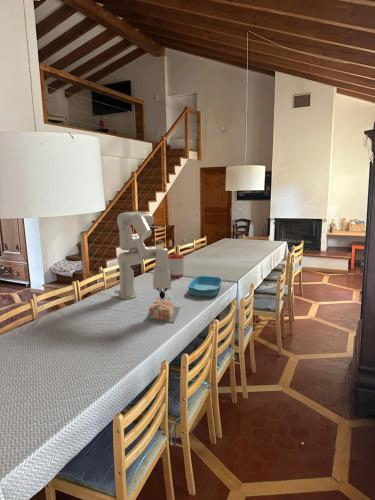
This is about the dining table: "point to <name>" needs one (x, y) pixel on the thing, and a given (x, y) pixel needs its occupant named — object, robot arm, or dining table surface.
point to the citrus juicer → (176, 265)
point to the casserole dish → (205, 286)
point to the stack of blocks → (161, 309)
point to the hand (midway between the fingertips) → (162, 298)
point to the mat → (172, 319)
